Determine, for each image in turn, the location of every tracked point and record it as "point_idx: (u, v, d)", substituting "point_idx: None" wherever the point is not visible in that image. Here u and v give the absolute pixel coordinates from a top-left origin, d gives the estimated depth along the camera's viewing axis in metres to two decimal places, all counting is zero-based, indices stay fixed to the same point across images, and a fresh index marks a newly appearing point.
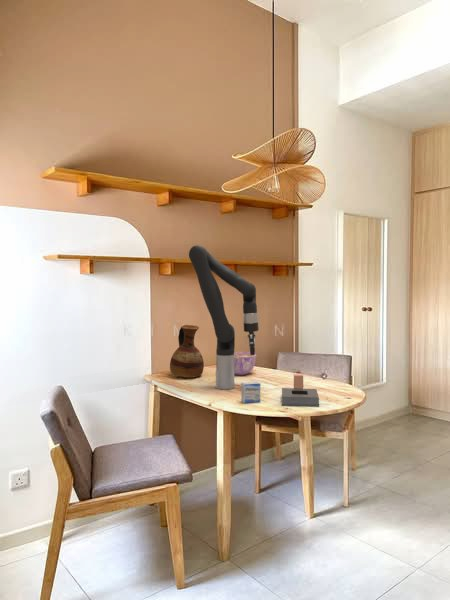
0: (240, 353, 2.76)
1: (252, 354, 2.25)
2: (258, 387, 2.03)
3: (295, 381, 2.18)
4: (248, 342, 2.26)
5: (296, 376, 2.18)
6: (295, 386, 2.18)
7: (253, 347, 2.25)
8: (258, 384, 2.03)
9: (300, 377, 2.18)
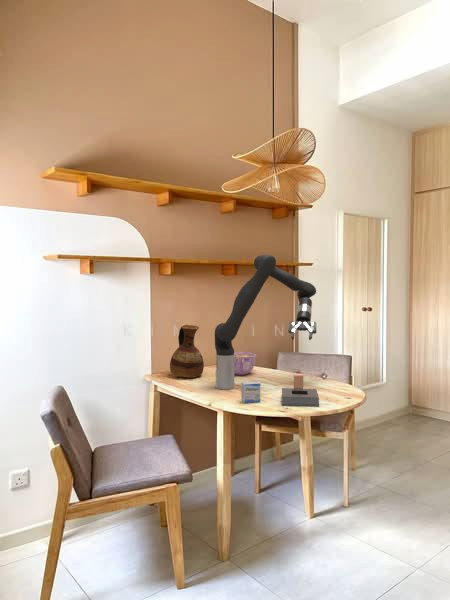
0: (240, 353, 2.76)
1: (310, 338, 2.28)
2: (258, 387, 2.03)
3: (295, 381, 2.18)
4: (309, 327, 2.31)
5: (296, 376, 2.18)
6: (295, 386, 2.18)
7: None
8: (258, 384, 2.03)
9: (300, 377, 2.18)
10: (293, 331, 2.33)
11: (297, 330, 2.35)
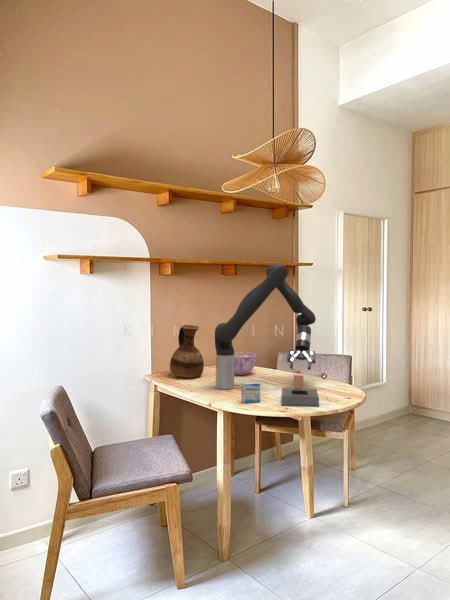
0: (240, 353, 2.76)
1: (309, 368, 2.25)
2: (258, 387, 2.03)
3: (295, 381, 2.18)
4: (308, 356, 2.28)
5: (296, 376, 2.18)
6: (295, 386, 2.18)
7: None
8: (258, 384, 2.03)
9: (300, 377, 2.18)
10: (292, 360, 2.29)
11: (296, 359, 2.32)
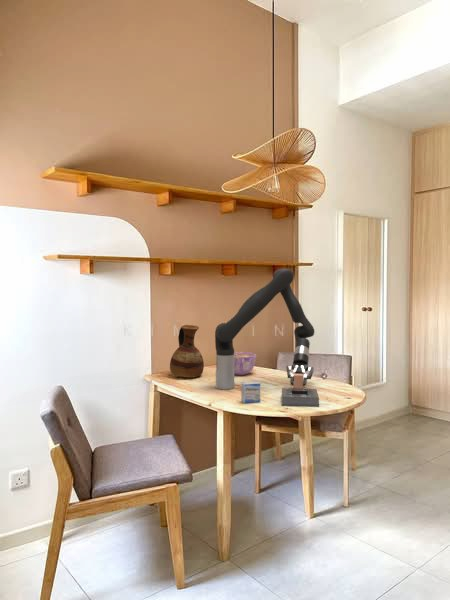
0: (240, 353, 2.76)
1: (304, 385, 2.18)
2: (258, 387, 2.03)
3: (295, 381, 2.18)
4: (304, 372, 2.21)
5: (296, 376, 2.18)
6: (295, 386, 2.18)
7: None
8: (258, 384, 2.03)
9: (300, 377, 2.18)
10: (293, 376, 2.21)
11: None
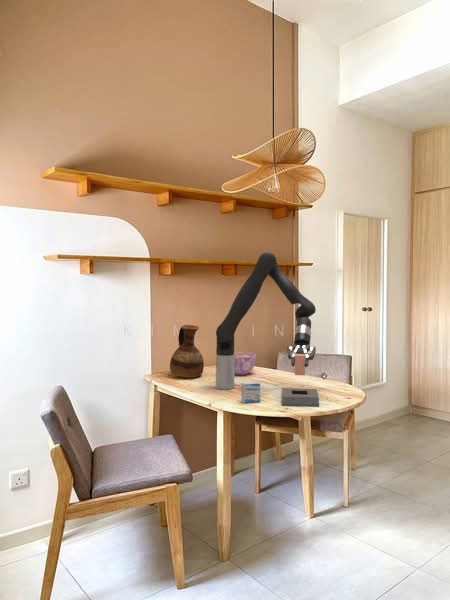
0: (240, 353, 2.76)
1: (306, 365, 2.04)
2: (258, 387, 2.03)
3: (296, 361, 2.05)
4: (306, 352, 2.07)
5: (297, 356, 2.05)
6: (296, 367, 2.05)
7: None
8: (258, 384, 2.03)
9: (302, 357, 2.04)
10: (293, 357, 2.08)
11: None
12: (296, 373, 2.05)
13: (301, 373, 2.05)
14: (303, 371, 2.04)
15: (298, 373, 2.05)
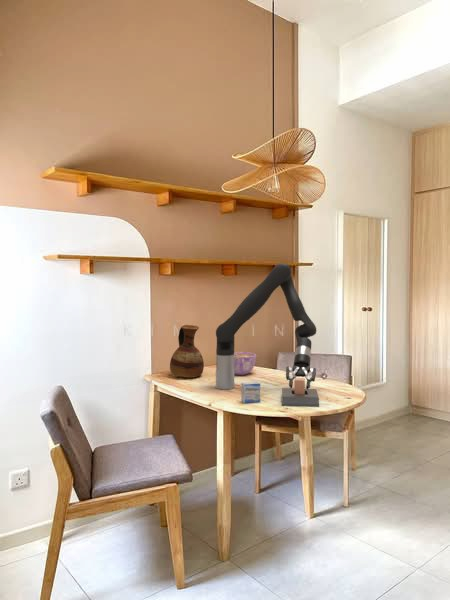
0: (240, 353, 2.76)
1: (308, 387, 2.02)
2: (258, 387, 2.03)
3: (296, 386, 2.03)
4: (307, 374, 2.05)
5: (297, 381, 2.02)
6: (296, 392, 2.03)
7: None
8: (258, 384, 2.03)
9: (301, 382, 2.02)
10: (291, 378, 2.06)
11: (295, 376, 2.09)
12: None
13: None
14: None
15: None
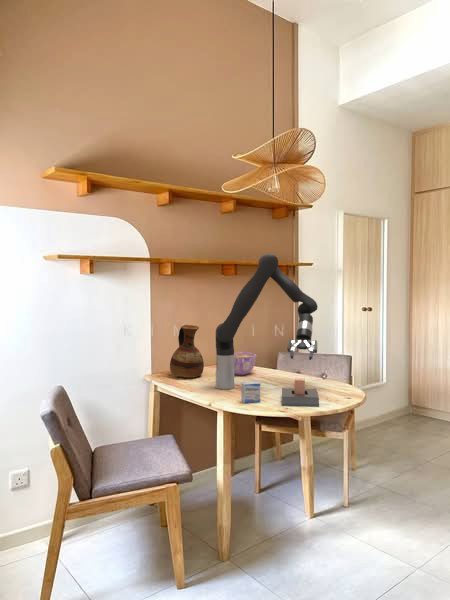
0: (240, 353, 2.76)
1: (310, 358, 2.14)
2: (258, 387, 2.03)
3: (296, 386, 2.03)
4: (309, 346, 2.17)
5: (297, 381, 2.02)
6: (296, 392, 2.03)
7: None
8: (258, 384, 2.03)
9: (301, 382, 2.02)
10: (292, 350, 2.18)
11: (297, 349, 2.21)
12: None
13: None
14: None
15: None
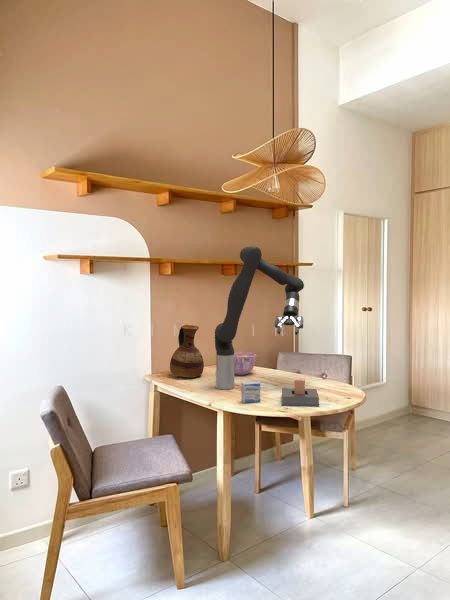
0: (240, 353, 2.76)
1: (296, 333, 2.23)
2: (258, 387, 2.03)
3: (296, 386, 2.03)
4: (295, 322, 2.26)
5: (297, 381, 2.02)
6: (296, 392, 2.03)
7: None
8: (258, 384, 2.03)
9: (301, 382, 2.02)
10: (279, 326, 2.27)
11: (283, 325, 2.30)
12: None
13: None
14: None
15: None
